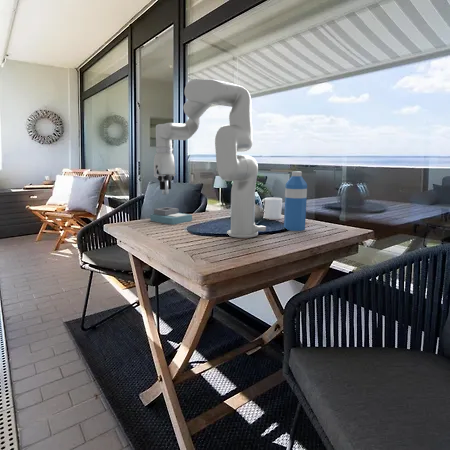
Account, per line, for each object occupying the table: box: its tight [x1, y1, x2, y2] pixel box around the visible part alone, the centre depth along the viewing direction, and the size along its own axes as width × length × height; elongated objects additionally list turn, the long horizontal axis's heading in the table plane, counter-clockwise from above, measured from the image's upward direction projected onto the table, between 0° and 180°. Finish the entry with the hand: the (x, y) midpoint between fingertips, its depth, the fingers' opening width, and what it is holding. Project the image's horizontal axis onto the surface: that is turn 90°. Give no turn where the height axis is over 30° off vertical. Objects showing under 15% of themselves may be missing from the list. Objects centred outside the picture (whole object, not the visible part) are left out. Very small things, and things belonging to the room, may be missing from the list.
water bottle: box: [283, 170, 308, 232], centre depth 147 cm, size 9×9×25 cm
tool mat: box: [168, 212, 187, 217], centre depth 164 cm, size 6×7×1 cm
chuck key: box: [161, 175, 171, 196], centre depth 166 cm, size 7×3×9 cm, turn 51°
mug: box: [261, 197, 283, 221], centre depth 174 cm, size 11×9×10 cm
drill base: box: [149, 206, 193, 226], centre depth 168 cm, size 18×13×6 cm
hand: (165, 188), depth 167 cm, fingers closed on chuck key, 3 cm apart
